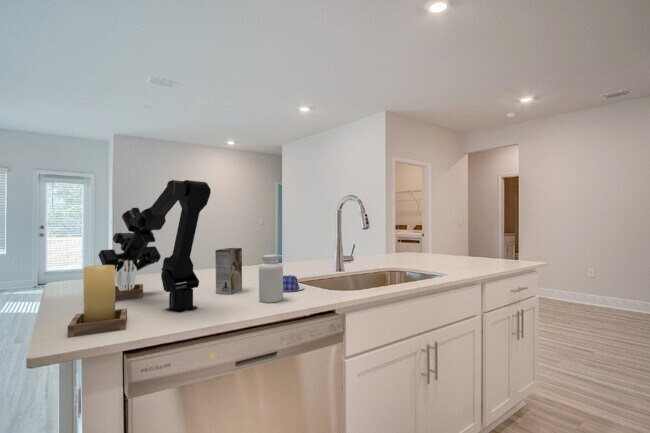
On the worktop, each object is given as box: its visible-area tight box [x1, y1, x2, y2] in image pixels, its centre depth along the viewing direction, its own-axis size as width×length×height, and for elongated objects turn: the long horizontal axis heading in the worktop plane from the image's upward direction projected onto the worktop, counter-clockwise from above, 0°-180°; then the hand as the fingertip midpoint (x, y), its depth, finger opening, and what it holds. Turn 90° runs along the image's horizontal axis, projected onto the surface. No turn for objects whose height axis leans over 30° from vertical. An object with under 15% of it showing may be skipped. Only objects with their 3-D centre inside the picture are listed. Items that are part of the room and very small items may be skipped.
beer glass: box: [115, 251, 138, 291], centre depth 122 cm, size 7×7×15 cm
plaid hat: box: [283, 274, 305, 293], centre depth 132 cm, size 12×12×5 cm
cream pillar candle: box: [83, 264, 116, 323], centre depth 86 cm, size 7×7×15 cm
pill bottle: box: [258, 254, 284, 304], centre depth 114 cm, size 8×8×15 cm
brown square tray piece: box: [67, 308, 128, 338], centre depth 86 cm, size 11×11×3 cm
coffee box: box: [215, 247, 243, 295], centre depth 128 cm, size 9×6×16 cm
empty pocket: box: [115, 283, 144, 301], centre depth 121 cm, size 11×11×3 cm
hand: (122, 271), depth 122 cm, fingers open, 9 cm apart
